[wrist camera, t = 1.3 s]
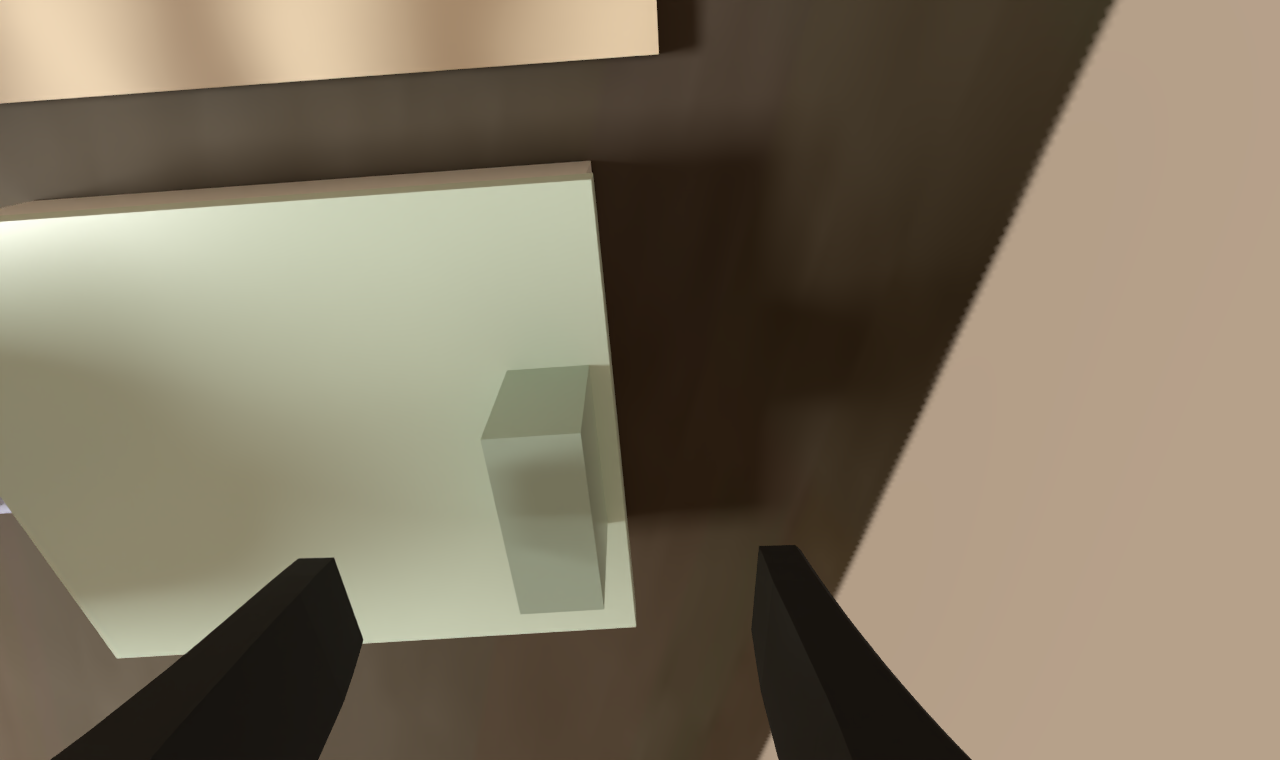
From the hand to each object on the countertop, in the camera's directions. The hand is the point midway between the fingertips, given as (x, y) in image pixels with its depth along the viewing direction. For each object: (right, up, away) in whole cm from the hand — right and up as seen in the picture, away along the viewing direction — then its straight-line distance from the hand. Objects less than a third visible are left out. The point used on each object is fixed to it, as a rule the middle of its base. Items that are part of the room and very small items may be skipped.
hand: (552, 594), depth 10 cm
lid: (-7, +2, +6) cm, 10 cm away
